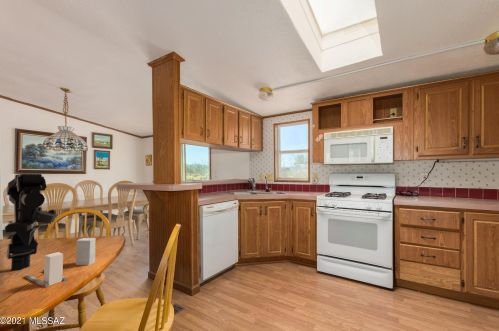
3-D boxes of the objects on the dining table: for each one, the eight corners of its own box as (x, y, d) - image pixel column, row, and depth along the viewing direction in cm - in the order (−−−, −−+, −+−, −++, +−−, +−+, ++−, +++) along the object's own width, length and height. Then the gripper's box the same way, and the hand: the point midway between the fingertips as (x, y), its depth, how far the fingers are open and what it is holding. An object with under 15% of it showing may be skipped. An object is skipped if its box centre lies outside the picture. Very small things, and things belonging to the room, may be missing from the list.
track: (23, 280, 89) (23, 274, 89) (45, 274, 96) (46, 268, 96) (44, 291, 81) (44, 285, 82) (67, 283, 88) (67, 277, 88)
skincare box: (95, 264, 106) (96, 237, 107) (89, 268, 102) (90, 240, 103) (81, 264, 106) (82, 237, 107) (75, 268, 102) (76, 240, 102)
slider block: (43, 283, 85) (44, 255, 85) (56, 278, 89) (57, 252, 89) (48, 285, 83) (50, 257, 84) (62, 281, 87) (63, 253, 87)
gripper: (44, 207, 86) (42, 250, 86) (62, 202, 104) (61, 237, 103) (4, 208, 82) (2, 253, 82) (30, 202, 99) (28, 239, 99)
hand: (27, 245), depth 91 cm, fingers closed
